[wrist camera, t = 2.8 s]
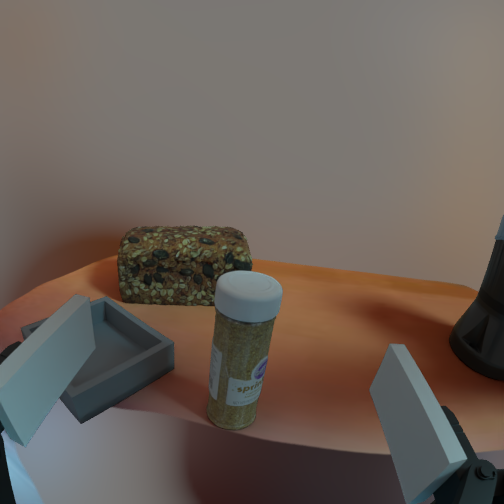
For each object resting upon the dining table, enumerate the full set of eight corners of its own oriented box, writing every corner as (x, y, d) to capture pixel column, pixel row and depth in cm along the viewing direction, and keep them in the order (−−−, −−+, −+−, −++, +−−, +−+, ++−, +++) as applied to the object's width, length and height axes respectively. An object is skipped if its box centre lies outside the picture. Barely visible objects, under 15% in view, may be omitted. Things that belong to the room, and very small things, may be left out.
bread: (235, 278, 54) (242, 222, 51) (248, 310, 44) (258, 244, 41) (127, 274, 49) (127, 215, 46) (117, 306, 40) (114, 236, 36)
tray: (108, 320, 36) (106, 296, 35) (174, 368, 30) (174, 342, 29) (28, 353, 26) (20, 327, 25) (81, 424, 20) (71, 397, 19)
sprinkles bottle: (247, 438, 23) (275, 304, 18) (197, 421, 24) (205, 285, 19) (261, 404, 27) (289, 277, 23) (216, 390, 28) (230, 263, 24)
